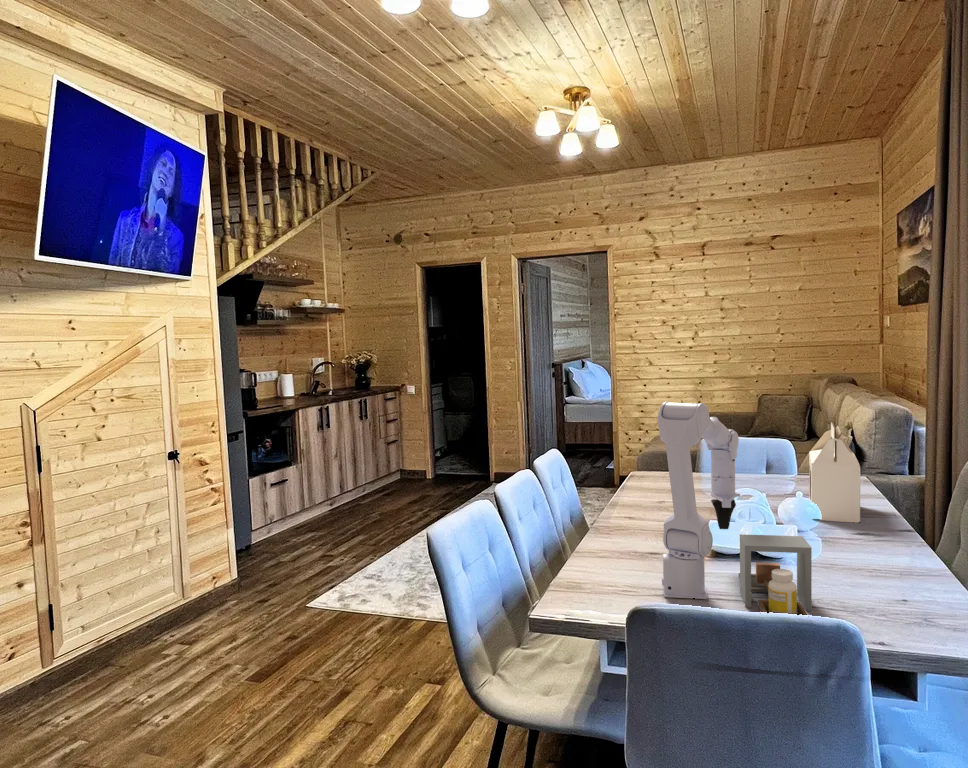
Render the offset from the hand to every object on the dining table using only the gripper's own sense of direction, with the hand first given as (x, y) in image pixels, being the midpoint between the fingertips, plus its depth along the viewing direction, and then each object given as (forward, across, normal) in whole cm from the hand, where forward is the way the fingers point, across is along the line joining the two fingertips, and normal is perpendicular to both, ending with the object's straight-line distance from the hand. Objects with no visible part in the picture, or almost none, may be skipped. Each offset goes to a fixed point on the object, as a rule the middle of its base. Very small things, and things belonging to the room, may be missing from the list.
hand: (723, 528), depth 173 cm
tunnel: (+9, -23, -8) cm, 26 cm away
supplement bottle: (+10, -31, -8) cm, 34 cm away
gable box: (+10, +54, -39) cm, 67 cm away
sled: (+9, -25, -8) cm, 28 cm away
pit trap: (+9, -13, -8) cm, 18 cm away
